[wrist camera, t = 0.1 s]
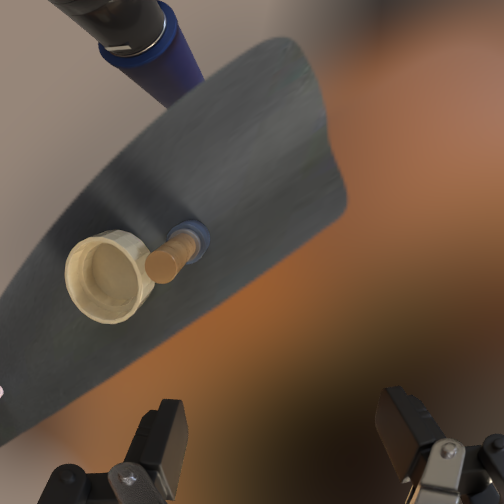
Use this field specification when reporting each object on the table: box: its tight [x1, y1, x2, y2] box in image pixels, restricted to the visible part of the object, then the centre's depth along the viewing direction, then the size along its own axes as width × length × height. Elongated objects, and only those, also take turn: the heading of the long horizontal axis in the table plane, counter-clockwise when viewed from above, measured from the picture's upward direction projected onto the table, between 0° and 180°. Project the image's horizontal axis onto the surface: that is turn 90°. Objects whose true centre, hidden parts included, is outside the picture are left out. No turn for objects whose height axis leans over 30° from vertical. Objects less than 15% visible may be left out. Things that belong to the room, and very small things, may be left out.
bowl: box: [65, 230, 155, 324], centre depth 37 cm, size 11×11×6 cm
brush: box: [145, 220, 210, 284], centre depth 32 cm, size 5×5×14 cm
